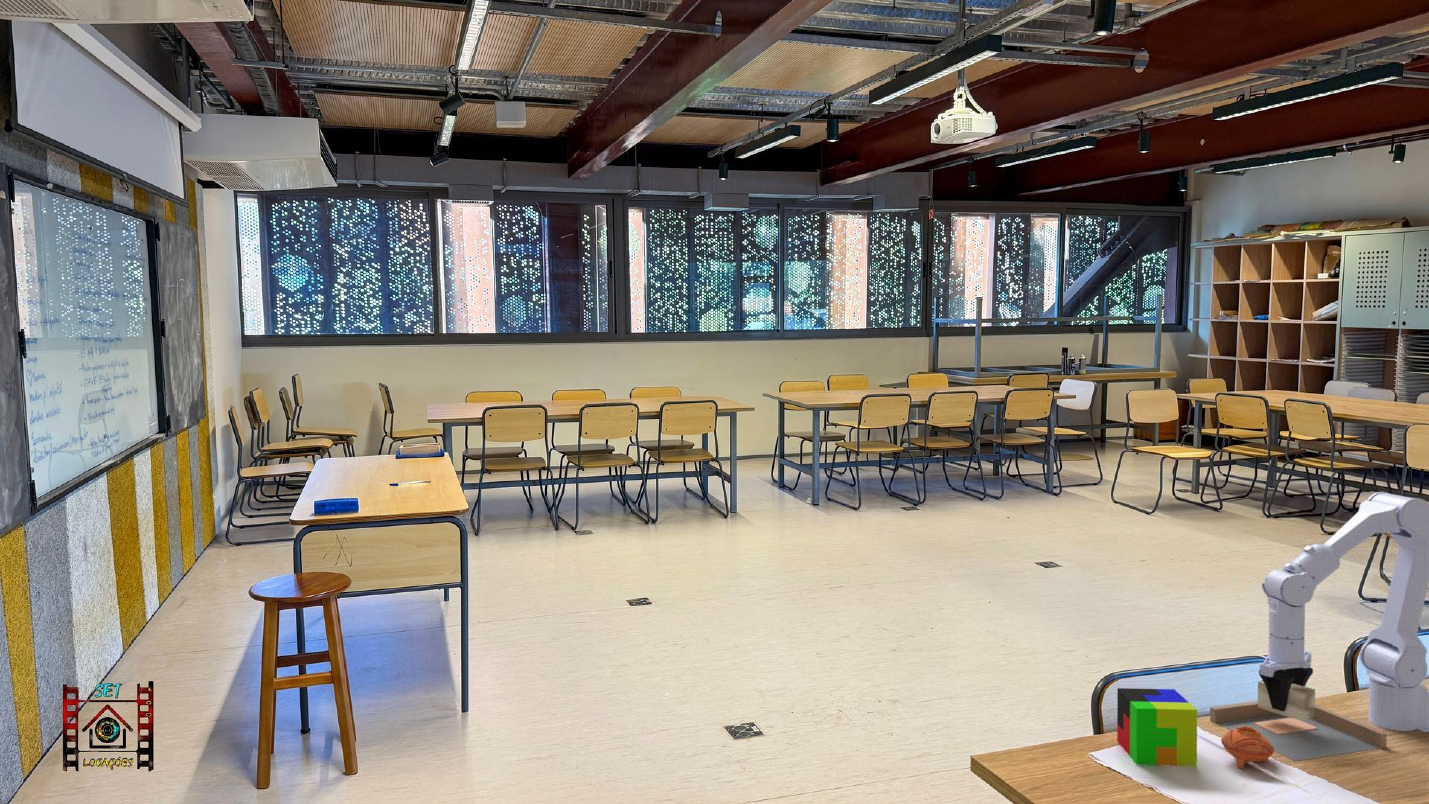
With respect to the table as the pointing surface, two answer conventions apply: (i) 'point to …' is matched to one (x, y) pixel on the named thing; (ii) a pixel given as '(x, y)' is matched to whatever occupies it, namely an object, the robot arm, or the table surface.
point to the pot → (1247, 745)
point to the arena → (1302, 731)
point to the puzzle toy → (1157, 727)
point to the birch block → (1290, 702)
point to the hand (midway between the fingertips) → (1285, 706)
